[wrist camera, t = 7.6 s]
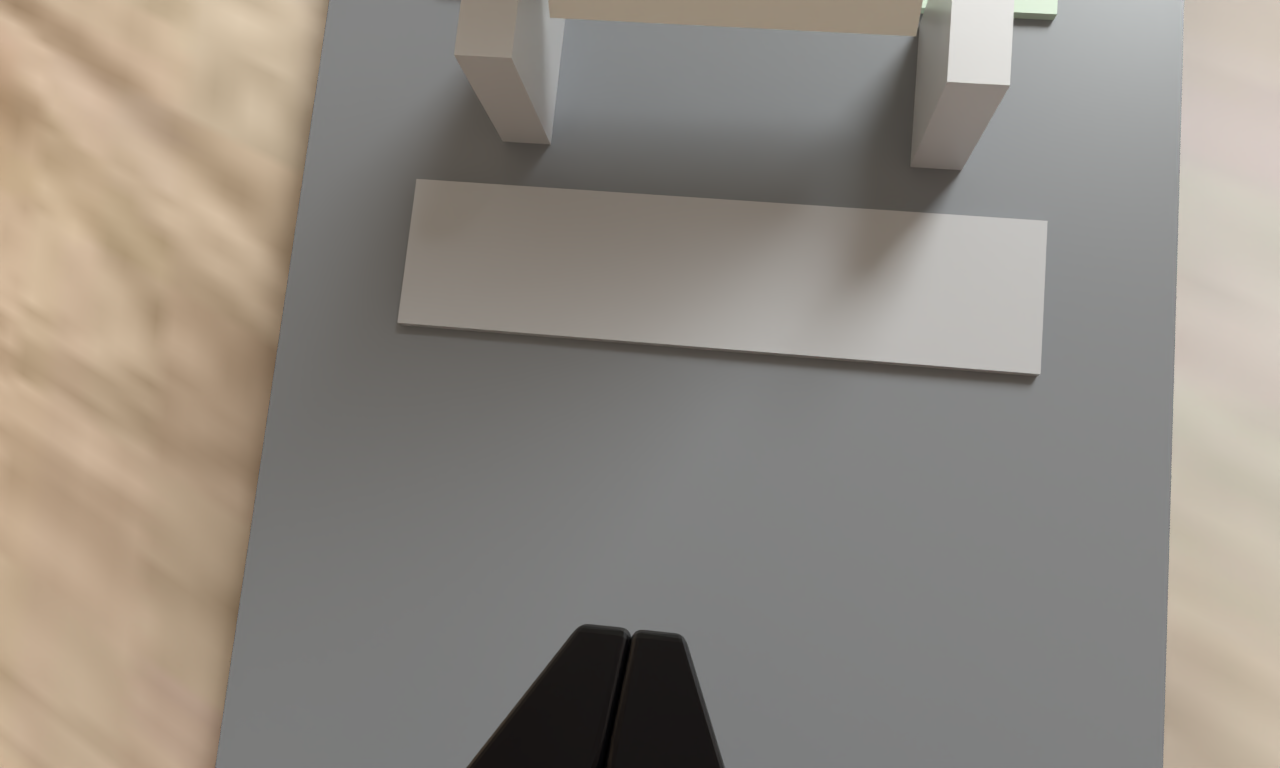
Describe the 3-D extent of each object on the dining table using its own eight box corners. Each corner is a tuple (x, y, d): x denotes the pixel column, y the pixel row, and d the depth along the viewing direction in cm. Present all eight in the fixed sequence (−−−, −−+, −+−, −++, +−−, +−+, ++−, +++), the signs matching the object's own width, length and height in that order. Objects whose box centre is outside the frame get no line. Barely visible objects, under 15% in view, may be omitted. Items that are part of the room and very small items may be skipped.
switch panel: (1124, 1035, 17) (1261, 1203, 12) (226, 912, 18) (62, 1023, 14) (1160, -83, 19) (1281, -270, 15) (374, -114, 21) (277, -292, 16)
